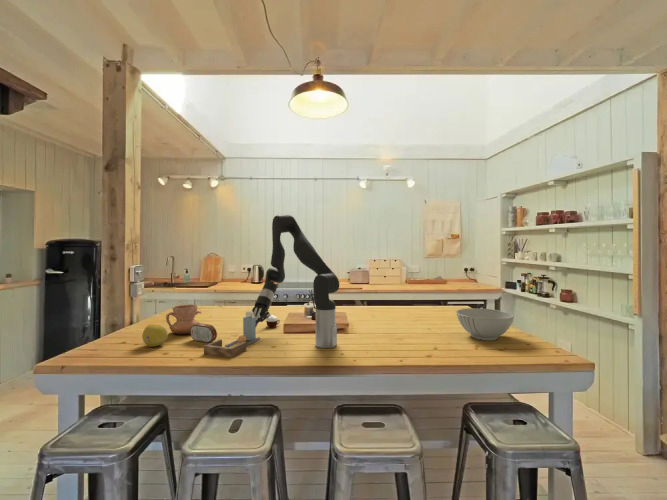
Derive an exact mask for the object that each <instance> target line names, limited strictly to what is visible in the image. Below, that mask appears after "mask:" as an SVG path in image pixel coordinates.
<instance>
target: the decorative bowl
mask: <svg viewBox="0 0 667 500" xmlns="http://www.w3.org/2000/svg"><path fill="white" fill-rule="evenodd" d="M455 313H456V317H457V319H458V321H459V324H460V326H461V327H462V328H463V330H465V331H466V332H467V333H469V334H470V337H472V338H473V339H476V340H480V339H481V341H496V340H497V339H498V338H499V337H500V336H502V335H504V334H505V333H506V332H508V330H509V329H510V327H511V326H512V324H513V322H514V319H515V315H514V314H512V313H510V312H508V311H504V310H498V309H491V308H490V309H489V308H481V307H480V308H479V307H478V308H477V307H476V308H473V307H472V308H460V309H457V311H456V312H455Z"/></svg>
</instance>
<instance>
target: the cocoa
mask: <svg viewBox="0 0 667 500" xmlns="http://www.w3.org/2000/svg"><path fill="white" fill-rule="evenodd" d="M265 320H266V321H265V323H266V326H267V327H268V328H275V327H277V325H278V326H279V324H280V323H281V320H280V319H278V316H275V315H273V314H270V316H269V317H268V318H267V319H265Z"/></svg>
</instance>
